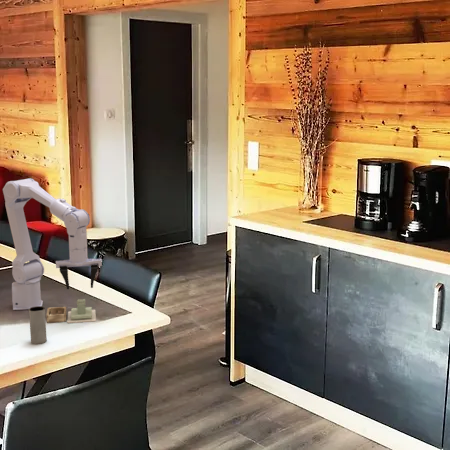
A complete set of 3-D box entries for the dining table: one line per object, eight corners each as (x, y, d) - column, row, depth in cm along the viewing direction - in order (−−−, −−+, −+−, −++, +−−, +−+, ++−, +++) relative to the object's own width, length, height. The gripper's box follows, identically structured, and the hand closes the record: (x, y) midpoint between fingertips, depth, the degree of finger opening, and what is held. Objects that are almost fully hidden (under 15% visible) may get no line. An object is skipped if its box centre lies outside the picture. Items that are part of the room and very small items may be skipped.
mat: (67, 323, 216) (67, 322, 216) (68, 312, 227) (68, 311, 227) (95, 321, 218) (95, 320, 218) (95, 310, 229) (95, 309, 228)
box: (46, 323, 216) (46, 315, 216) (48, 315, 224) (47, 307, 224) (66, 321, 218) (65, 314, 217) (66, 313, 225) (66, 306, 225)
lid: (71, 320, 218) (70, 306, 217) (71, 312, 226) (71, 298, 225) (92, 319, 219) (91, 305, 218) (91, 311, 227) (91, 297, 226)
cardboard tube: (32, 338, 203) (30, 306, 201) (47, 338, 203) (46, 305, 201) (29, 344, 198) (27, 311, 196) (45, 344, 199) (43, 310, 197)
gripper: (54, 251, 213) (56, 292, 216) (101, 249, 216) (102, 289, 218) (55, 246, 220) (57, 286, 222) (100, 244, 222) (102, 283, 225)
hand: (79, 287), depth 221 cm, fingers open, 7 cm apart
